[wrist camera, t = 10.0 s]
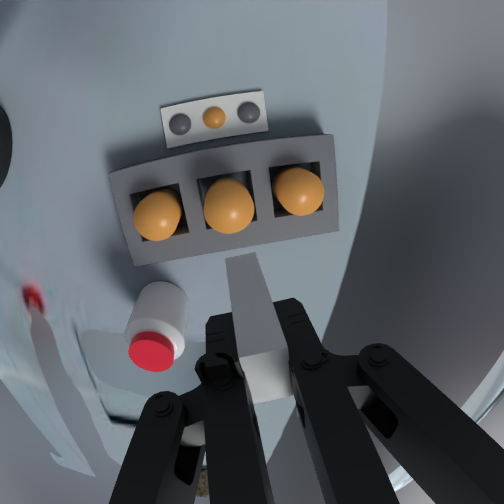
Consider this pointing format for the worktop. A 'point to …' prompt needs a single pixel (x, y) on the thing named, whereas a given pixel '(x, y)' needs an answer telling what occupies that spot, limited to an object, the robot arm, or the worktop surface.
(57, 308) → the worktop surface
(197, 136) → the pattern card
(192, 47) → the worktop surface
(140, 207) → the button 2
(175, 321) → the pill bottle
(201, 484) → the rock
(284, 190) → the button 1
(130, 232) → the board
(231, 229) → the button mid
